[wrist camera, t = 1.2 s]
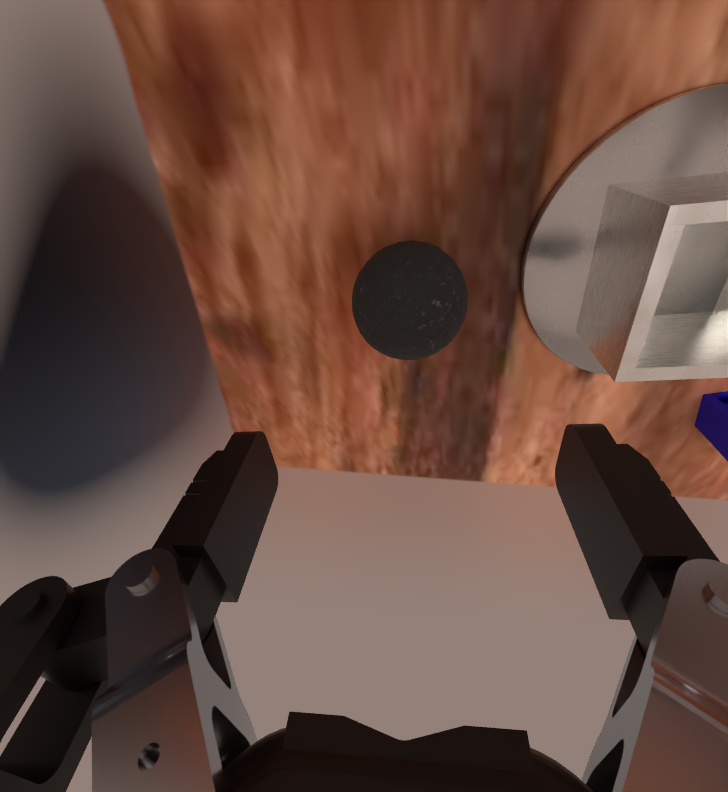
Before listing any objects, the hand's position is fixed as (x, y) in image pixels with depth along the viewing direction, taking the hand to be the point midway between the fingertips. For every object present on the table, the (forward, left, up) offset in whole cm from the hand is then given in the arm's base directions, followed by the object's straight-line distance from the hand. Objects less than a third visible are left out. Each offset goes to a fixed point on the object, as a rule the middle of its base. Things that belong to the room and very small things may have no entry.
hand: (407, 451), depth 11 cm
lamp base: (+1, +15, -18) cm, 23 cm away
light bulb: (0, 0, -18) cm, 18 cm away
